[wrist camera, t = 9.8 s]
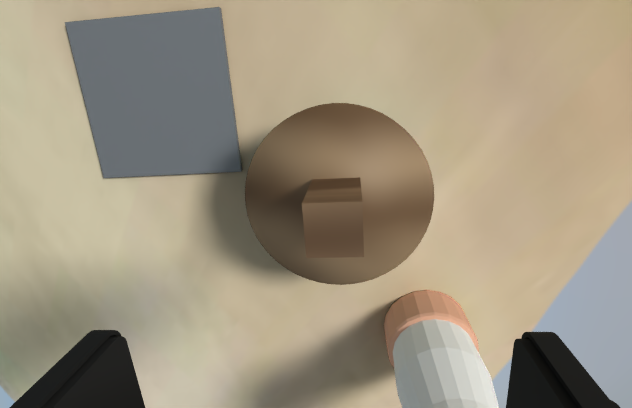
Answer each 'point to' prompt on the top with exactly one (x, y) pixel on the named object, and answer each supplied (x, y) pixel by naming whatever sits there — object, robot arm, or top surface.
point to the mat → (158, 92)
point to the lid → (339, 193)
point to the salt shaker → (436, 354)
